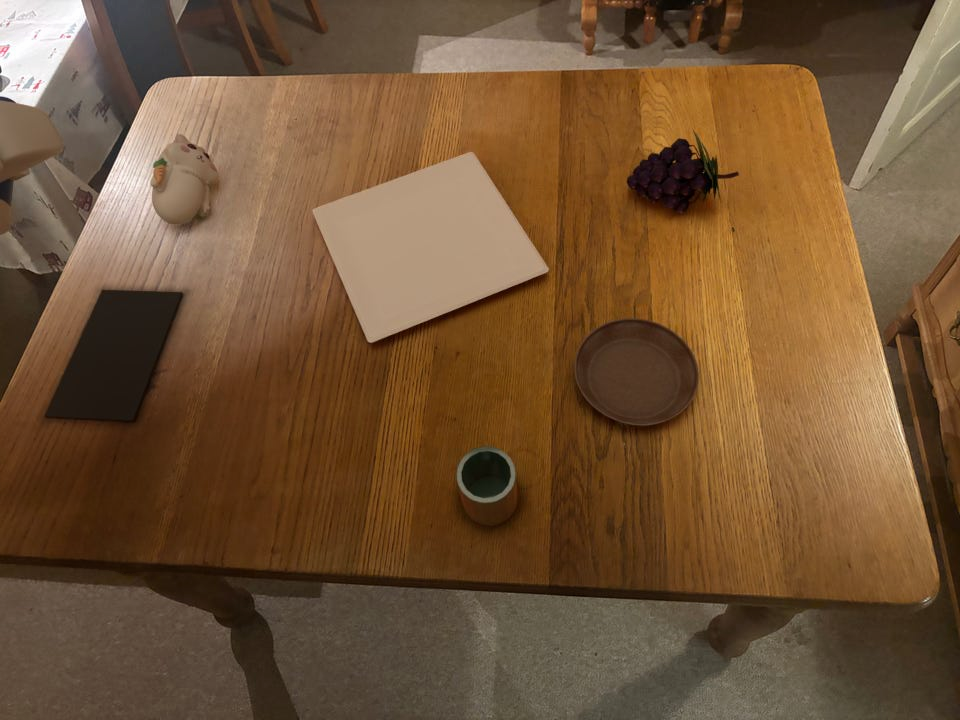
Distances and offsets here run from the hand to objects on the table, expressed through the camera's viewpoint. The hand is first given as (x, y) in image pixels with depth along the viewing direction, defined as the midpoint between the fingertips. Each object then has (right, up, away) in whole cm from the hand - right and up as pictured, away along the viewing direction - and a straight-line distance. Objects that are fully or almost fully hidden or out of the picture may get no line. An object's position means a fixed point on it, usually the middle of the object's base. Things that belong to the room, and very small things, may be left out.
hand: (2, 177), depth 63 cm
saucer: (+65, -20, +19) cm, 70 cm away
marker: (-3, +8, +5) cm, 10 cm away
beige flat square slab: (+38, -1, +32) cm, 50 cm away
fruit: (+75, +6, +33) cm, 82 cm away
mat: (-3, -17, +26) cm, 31 cm away
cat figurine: (+1, +8, +40) cm, 40 cm away
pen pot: (+47, -33, +12) cm, 59 cm away
